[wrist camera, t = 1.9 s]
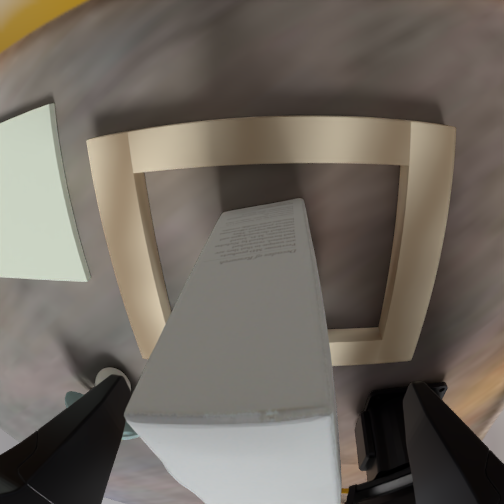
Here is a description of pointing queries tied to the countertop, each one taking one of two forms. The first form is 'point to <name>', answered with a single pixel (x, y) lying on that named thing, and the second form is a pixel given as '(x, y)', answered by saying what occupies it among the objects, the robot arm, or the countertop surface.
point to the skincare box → (246, 369)
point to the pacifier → (103, 374)
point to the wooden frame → (283, 151)
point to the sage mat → (36, 203)
